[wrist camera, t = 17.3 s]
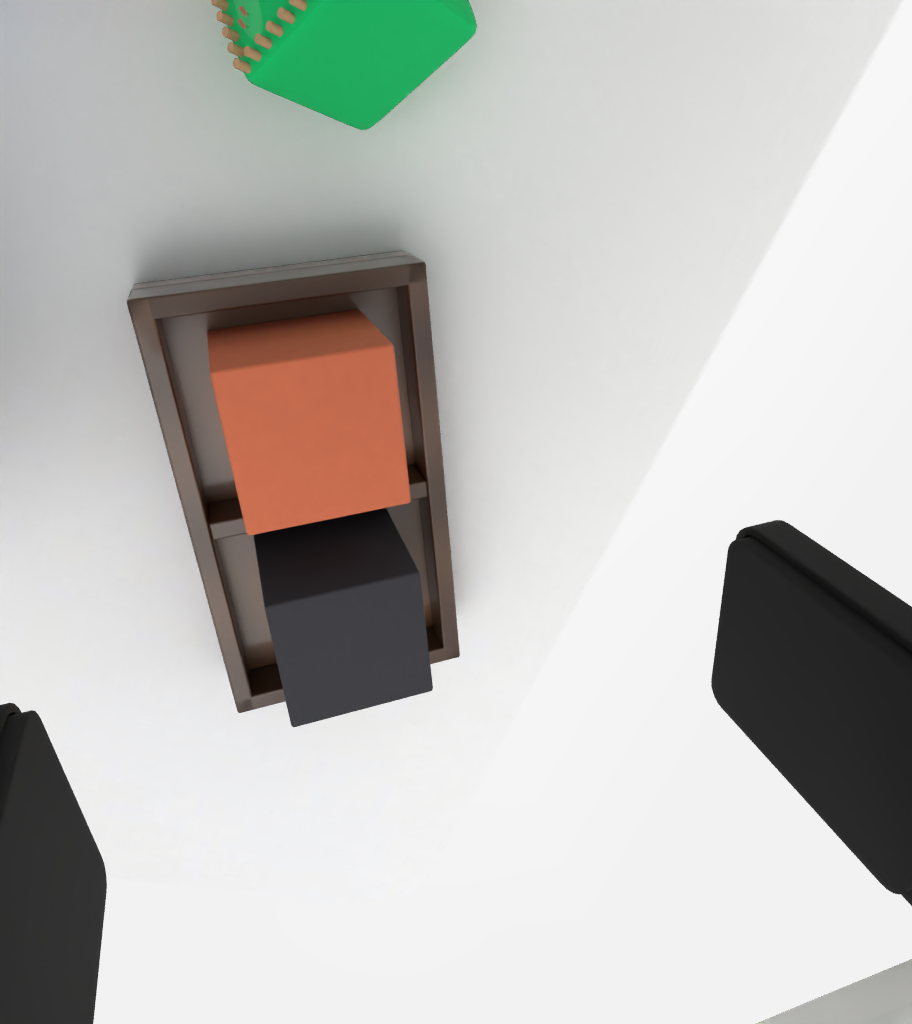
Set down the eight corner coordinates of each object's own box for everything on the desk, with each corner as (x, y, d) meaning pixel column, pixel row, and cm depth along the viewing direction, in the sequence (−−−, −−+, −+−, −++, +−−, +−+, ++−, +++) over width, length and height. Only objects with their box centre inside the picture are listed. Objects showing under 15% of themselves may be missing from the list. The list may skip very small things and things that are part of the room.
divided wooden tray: (132, 283, 22) (125, 300, 19) (404, 250, 23) (426, 261, 21) (234, 670, 28) (237, 714, 26) (441, 620, 30) (460, 657, 28)
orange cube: (206, 329, 22) (209, 372, 18) (360, 308, 23) (393, 343, 19) (238, 472, 24) (247, 537, 20) (378, 446, 25) (412, 503, 21)
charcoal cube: (253, 534, 25) (263, 607, 21) (386, 507, 26) (420, 572, 22) (278, 644, 27) (292, 728, 23) (400, 614, 28) (433, 691, 24)
